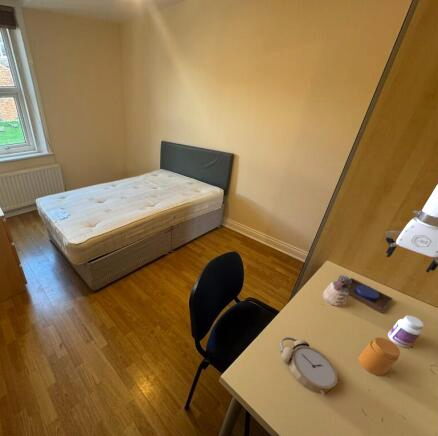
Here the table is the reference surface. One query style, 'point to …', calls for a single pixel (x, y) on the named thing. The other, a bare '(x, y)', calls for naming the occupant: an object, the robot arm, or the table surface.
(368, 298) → the lid
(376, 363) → the jar
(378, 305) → the tray
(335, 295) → the figurine
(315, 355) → the alarm clock
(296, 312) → the table surface
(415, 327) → the pill bottle
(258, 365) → the table surface
